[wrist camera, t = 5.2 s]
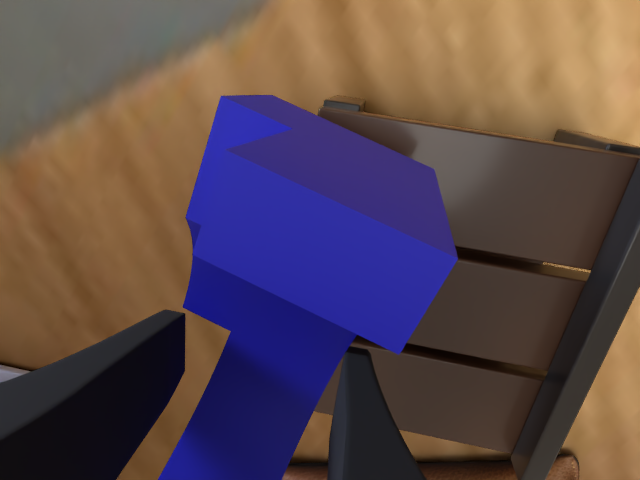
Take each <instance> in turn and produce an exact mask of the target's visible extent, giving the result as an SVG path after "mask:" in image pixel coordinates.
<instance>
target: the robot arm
mask: <svg viewBox="0 0 640 480" xmlns="http://www.w3.org/2000/svg"><path fill="white" fill-rule="evenodd" d="M184 372H185V313H180V312H175V311H170V310H163V311H161V312H159V313H156V314H154V315H152V316H150V317H148V318H146V319H144V320H142V321H140V322H139V323H137V324H135V325H133V326H131V327H129V328H127V329H125V330H123V331H121V332H119V333H117V334H115V335H113V336H111V337H109V338H107V339H105V340H103V341H101V342H99V343H97V344H95V345H92V346H90V347H88V348H86V349H84V350H81V351H79V352H77V353H75V354H73V355H70V356H68V357H66V358H64V359H62V360H59V361H57V362H54V363H52V364H50V365H47V366H45V367H42V368H40V369H37V370H34V371H32V372H31V371H26V370H22V369H17V368H13V367H8V366H4V365H0V480H116V479H117V477H118V476H119V474H120V473H121V471H122V470H123V468H124V467H125V465H126V464H127V463H128V461H129V460H130V458H131V457H132V455H133V454H134V452H135V451H136V449H137V448H138V447H139V445H140V444H141V442H142V441H143V439H144V438H145V436H146V435H147V434H148V432H149V431H150V429H151V428H152V426H153V425H154V423H155V422H156V420H157V419H158V418H159V416H160V415H161V413H162V412H163V410H164V409H165V407H166V406H167V404H168V403H169V401H170V399H171V397H172V395H173V393H174V391H175V390H176V388H177V386H178V384H179V382H180V380H181V378H182V376H183V374H184ZM327 480H427V479H426V477H425V476H424V474H423V473H422V471H421V469H420V468H419V466H418V464H417V463H416V461H415V459H414V458H413V456H412V454H411V452H410V451H409V449H408V447H407V445H406V443H405V441H404V439H403V437H402V435H401V433H400V431H399V429H398V427H397V425H396V423H395V421H394V419H393V417H392V414H391V412H390V410H389V407H388V405H387V403H386V400H385V398H384V395H383V393H382V390H381V387H380V385H379V382H378V379H377V376H376V373H375V369H374V366H373V362H372V357H371V353H370V352H369V351H368V349H362V348H357V347H352V346H349V348H348V349H347V351H346V352H345V354H344V358H343V364H342V369H341V374H340V379H339V385H338V390H337V395H336V401H335V407H334V413H333V419H332V426H331V432H330V440H329V457H328V475H327Z"/></svg>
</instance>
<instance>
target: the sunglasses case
mask: <svg viewBox="0 0 640 480" xmlns="http://www.w3.org/2000/svg"><path fill="white" fill-rule="evenodd" d="M417 464H418V466H419V468H420V469H421V471H422V473H423V474H424V476H425V477H426V479H427V480H518V478H517V476H516V473H515V470H514V467H513V464H512V461H511V460H509V461H470V462H422V463H417ZM327 475H328V463H289V464H288V467H287V469H286V471H285V473H284V476H283V478H282V480H327ZM546 480H579V462H578V460H577V458H575V457H574V456H573V455H566V454H562V455H557V457H556V459H555V461H554V463H553V465H552V467H551V469H550V471H549V474H548V476H547V478H546Z"/></svg>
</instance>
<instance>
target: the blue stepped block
mask: <svg viewBox="0 0 640 480" xmlns="http://www.w3.org/2000/svg"><path fill="white" fill-rule="evenodd" d="M186 220H187V222H188V225H189V227H190V231H191V236H192V243H193V254H192V255H193V260H192V269H191V276H190V281H189V286H188V290H187V294H186V297H185V301H184V304H183V308H185V309H187V310H189V311H191V312H193V313H195V314H197V315H199V316H201V317H203V318H205V319H207V320H209V321H211V322H213V323H215V324H217V325H219V326H221V327H223V328H225V329H227V330H229V331H231V332H230V335H229V337H228V340H227V342H226V345H225V347H224V349H223V352H222V354H221V356H220V359H219V361H218V363H217V366H216V368H215V370H214V372H213V374H212V376H211V379H210V381H209V383H208V385H207V387H206V389H205V391H204V393H203V395H202V397H201V399H200V401H199V403H198V405H197V407H196V409H195V411H194V413H193V415H192V417H191V419H190V421H189V423H188V425H187V427H186V429H185V431H184V433H183V435H182V437H181V438H180V440H179V442H178V444H177V446H176V448H175V450H174V451H173V453H172V455H171V457H170V459H169V461H168V462H167V464H166V466H165V468H164V470H163V471H162V473H161V475H160V477H159V478H158V480H282V478H283V476H284V473H285V471H286V469H287V467H288V464H289V462H290V460H291V458H292V456H293V453H294V451H295V449H296V447H297V445H298V443H299V440H300V438H301V436H302V434H303V432H304V430H305V428H306V426H307V424H308V421H309V419H310V417H311V415H312V413H313V411H314V409H315V407H316V405H317V403H318V401H319V399H320V397H321V395H322V394H323V392H324V390H325V388H326V386H327V384H328V382H329V380H330V379H331V377H332V375H333V373H334V371H335V369H336V368H337V366H338V364H339V362H340V361H341V359H342V357H343V356H344V354H345V352H346V351H347V349H348V348H349V346H350V345H351V343H352V341H353V340H354V339H355V337H356V336H357V335H359V336H361V337H363V338H365V339H367V340H369V341H371V342H374V343H376V344H378V345H380V346H382V347H384V348H386V349H388V350H390V351H392V352H394V353H396V354H398V355H399V354H400V353H401V351H402V349H403V348H404V346H405V345H406V343H407V341H408V340H409V338H410V336H411V335H412V333H413V331H414V330H415V328H416V327H417V325H418V323H419V322H420V320H421V318H422V317H423V315H424V314H425V312H426V310H427V309H428V307H429V305H430V304H431V302H432V300H433V299H434V297H435V296H436V294H437V292H438V291H439V289H440V287H441V286H442V284H443V283H444V281H445V279H446V278H447V276H448V274H449V273H450V271H451V270H452V268H453V266H454V265H455V263H456V261H457V260H458V256H457V252H456V249H455V245H454V241H453V237H452V234H451V230H450V226H449V222H448V219H447V215H446V211H445V207H444V203H443V200H442V196H441V192H440V188H439V185H438V181H437V177H436V173H435V170H434V169H433V168H431V167H429V166H426V165H424V164H422V163H420V162H418V161H415V160H413V159H411V158H409V157H407V156H404V155H402V154H400V153H398V152H396V151H393V150H391V149H389V148H387V147H385V146H383V145H380V144H378V143H376V142H374V141H372V140H369V139H367V138H365V137H363V136H361V135H358V134H356V133H354V132H352V131H350V130H348V129H345V128H343V127H341V126H339V125H337V124H334V123H332V122H330V121H328V120H326V119H323V118H321V117H319V116H317V115H315V114H313V113H310V112H308V111H306V110H304V109H302V108H299V107H297V106H295V105H293V104H291V103H288V102H286V101H284V100H282V99H280V98H278V97H275V96H273V95H236V96H221V98H220V101H219V104H218V108H217V111H216V115H215V118H214V122H213V125H212V129H211V132H210V135H209V139H208V142H207V146H206V149H205V153H204V156H203V159H202V163H201V166H200V170H199V173H198V177H197V180H196V183H195V187H194V190H193V194H192V197H191V201H190V204H189V207H188V211H187V214H186Z"/></svg>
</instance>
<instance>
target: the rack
mask: <svg viewBox="0 0 640 480" xmlns="http://www.w3.org/2000/svg"><path fill="white" fill-rule="evenodd" d="M364 106H365V100H364V99H359V98H353V97H346V96H340V95H337V96H334V97H332V98H329V99H326V100H324V104H323V107H321V108H319V111H318V116H319V117H321V118H323V119H326V120H328V121H330V122H332V123H334V124H337V125H339V126H341V127H343V128H345V129H348V130H350V131H352V132H354V133H356V134H358V135H361V136H363V137H365V138H367V139H369V140H372V141H374V142H376V143H378V144H380V145H383V146H385V147H387V148H389V149H391V150H393V151H396V152H398V153H400V154H402V155H404V156H407V157H409V158H411V159H413V160H415V161H418V162H420V163H422V164H424V165H426V166H429V167H431V168H433V169H434V170H435V173H436V177H437V181H438V185H439V188H440V192H441V196H442V200H443V203H444V207H445V211H446V215H447V219H448V222H449V226H450V230H451V234H452V237H453V241H454V245H455V249H456V252H457V256H458V260H457V261H456V263H455V265H454V266H453V268H452V270H451V271H450V273H449V274H448V276H447V278H446V279H445V281H444V283H443V284H442V286H441V287H440V289H439V291H438V292H437V294H436V296H435V297H434V299H433V300H432V302H431V304H430V305H429V307H428V309H427V310H426V312H425V314H424V315H423V317H422V318H421V320H420V322H419V323H418V325H417V327H416V328H415V330H414V331H413V333H412V335H411V336H410V338H409V340H408V341H407V343H406V345H405V346H404V348H403V349H402V351H401V353H400V354H399V355H398V354H396V353H394V352H392V351H390V350H388V349H386V348H384V347H382V346H380V345H378V344H376V343H374V342H371V341H369V340H367V339H365V338H363V337H361V336H359V335H357V336H356V337H355V339H354V340H353V341H352V343H351V345H350V346H352V347H357V348H362V349H368V351H369V352H370V353H371V357H372V362H373V366H374V369H375V373H376V376H377V379H378V382H379V385H380V387H381V390H382V393H383V395H384V398H385V400H386V403H387V405H388V407H389V410H390V412H391V414H392V417H393V419H394V421H395V423H396V425H397V427H398V429H399V430H404V431H408V432H413V433H418V434H422V435H427V436H432V437H436V438H441V439H446V440H450V441H455V442H460V443H464V444H469V445H474V446H478V447H483V448H488V449H492V450H497V451H502V452H506V453H511V454H512V456H511V461H512V464H513V467H514V470H515V473H516V476H517V478H518V480H546V478H547V476H548V474H549V471H550V469H551V467H552V465H553V463H554V461H555V459H556V457H557V455H558V453H559V451H560V449H561V447H562V445H563V443H564V441H565V439H566V437H567V435H568V432H569V430H570V428H571V426H572V424H573V422H574V420H575V418H576V416H577V414H578V412H579V410H580V408H581V406H582V404H583V402H584V400H585V398H586V396H587V393H588V391H589V389H590V387H591V385H592V383H593V381H594V379H595V377H596V375H597V373H598V371H599V369H600V367H601V365H602V363H603V361H604V359H605V357H606V354H607V352H608V350H609V348H610V346H611V344H612V342H613V340H614V338H615V336H616V334H617V332H618V330H619V328H620V326H621V324H622V322H623V320H624V317H625V315H626V313H627V311H628V309H629V307H630V305H631V303H632V301H633V299H634V297H635V295H636V293H637V291H638V289H639V287H640V147H638V146H634V145H630V144H626V143H622V142H619V141H615V140H611V139H607V138H603V137H599V136H595V135H592V134H588V133H582V132H575V131H568V130H562V129H559V130H557V133H556V136H555V139H554V141H547V140H540V139H534V138H527V137H521V136H515V135H508V134H502V133H495V132H489V131H482V130H476V129H469V128H463V127H457V126H450V125H444V124H437V123H431V122H424V121H418V120H411V119H405V118H399V117H392V116H386V115H379V114H373V113H366V112H363V111H364ZM543 262H548V263H553V264H559V265H564V266H570V267H576V268H581V269H587V270H591V272H590V273H588V272H582V271H577V270H571V269H565V268H560V267H554V266H548V265H543ZM343 358H344V356H343V357H342V359H341V361H340V362H339V364H338V366H337V368H336V369H335V371H334V373H333V375H332V377H331V379H330V380H329V382H328V384H327V386H326V388H325V390H324V392H323V394H322V395H321V397H320V399H319V401H318V403H317V405H316V407H315V409H314V411H315V412H320V413H325V414H329V415H333V413H334V407H335V401H336V395H337V390H338V385H339V379H340V374H341V369H342V364H343Z"/></svg>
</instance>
